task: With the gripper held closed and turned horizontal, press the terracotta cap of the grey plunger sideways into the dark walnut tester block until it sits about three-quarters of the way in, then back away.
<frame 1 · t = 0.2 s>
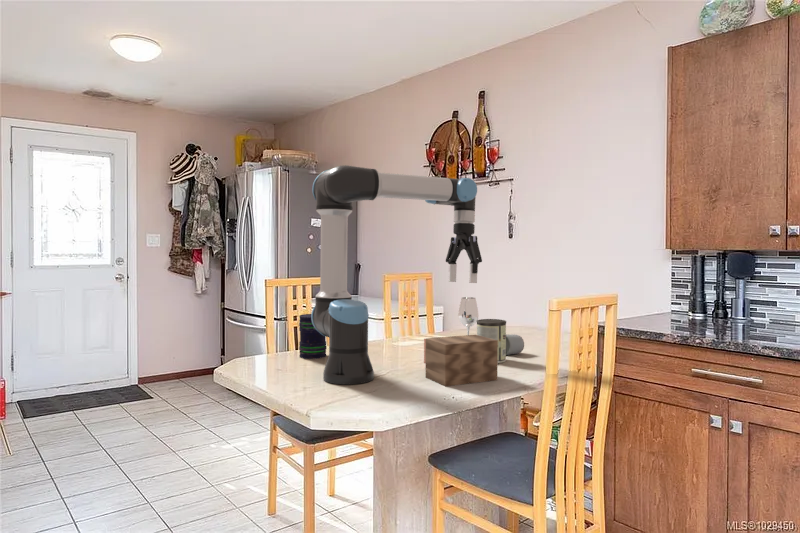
hand: (462, 282, 199), 27 cm above the table, tool pointing down, fingers open, 13 cm apart
coffee can: (491, 361, 195), on the table
ceramic mug: (507, 354, 208), on the table
wineglass: (468, 349, 218), on the table
storage jar: (312, 356, 202), on the table
tester block: (461, 378, 168), on the table
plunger: (444, 353, 177), point 6 cm above the table, slide at 0.0 cm
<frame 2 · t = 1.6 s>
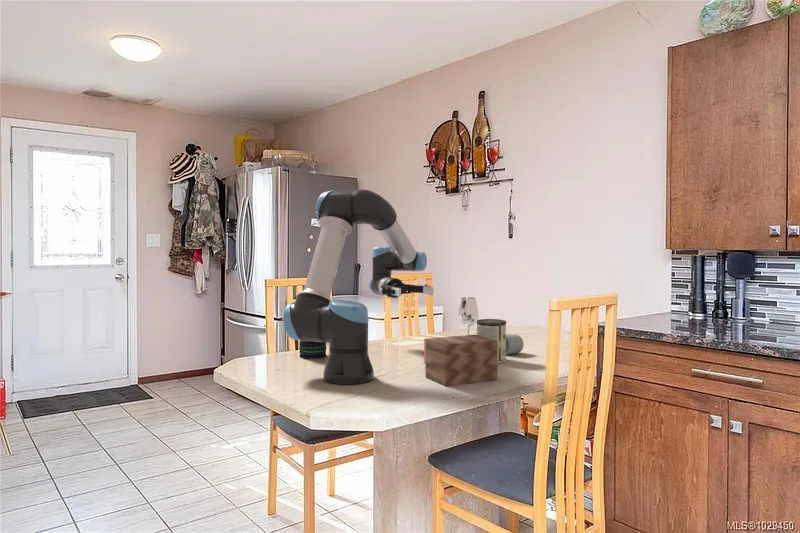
hand: (416, 291, 194), 24 cm above the table, tool horizontal, fingers open, 12 cm apart
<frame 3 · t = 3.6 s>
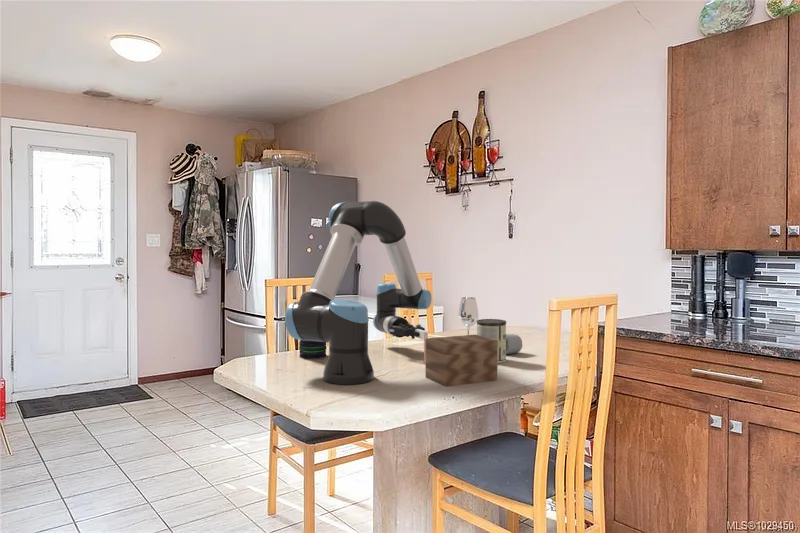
hand: (425, 335, 189), 10 cm above the table, tool horizontal, fingers closed
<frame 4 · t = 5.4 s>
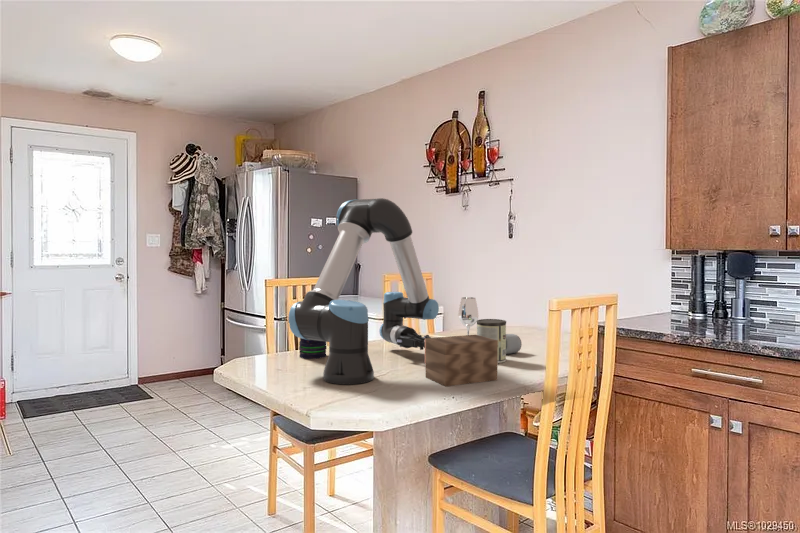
hand: (435, 346, 182), 7 cm above the table, tool horizontal, fingers closed
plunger: (445, 353, 176), point 6 cm above the table, slide at 0.4 cm, touching gripper
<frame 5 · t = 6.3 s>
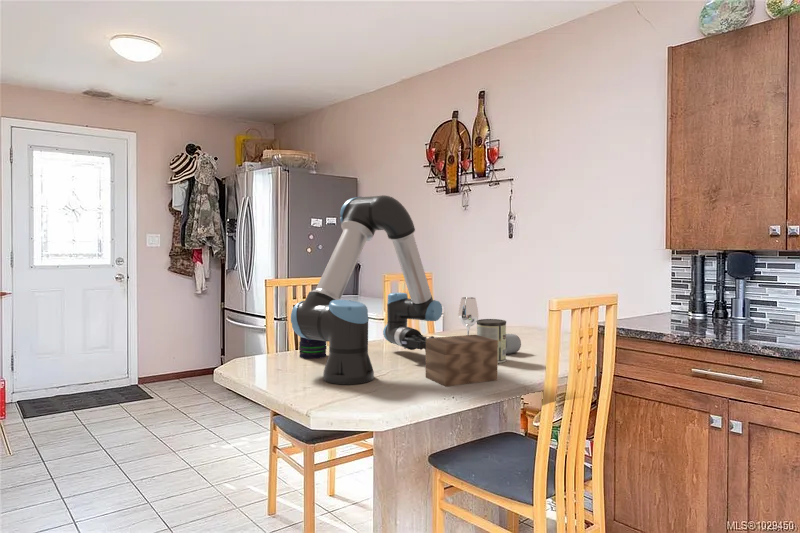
hand: (440, 348, 179), 7 cm above the table, tool horizontal, fingers closed
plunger: (451, 355, 173), point 6 cm above the table, slide at 4.0 cm, touching gripper
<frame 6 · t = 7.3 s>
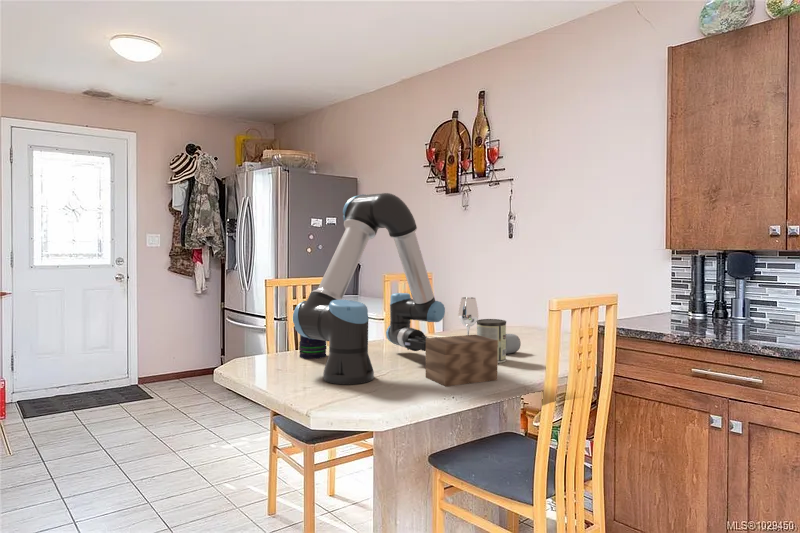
hand: (445, 350, 177), 7 cm above the table, tool horizontal, fingers closed
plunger: (455, 357, 170), point 6 cm above the table, slide at 6.8 cm, touching gripper
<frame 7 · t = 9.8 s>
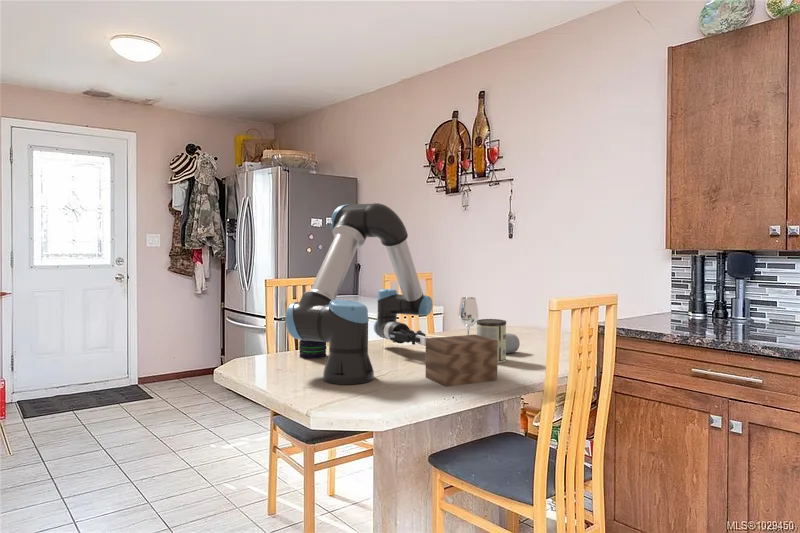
hand: (426, 341, 188), 8 cm above the table, tool horizontal, fingers closed
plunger: (455, 357, 170), point 6 cm above the table, slide at 6.8 cm
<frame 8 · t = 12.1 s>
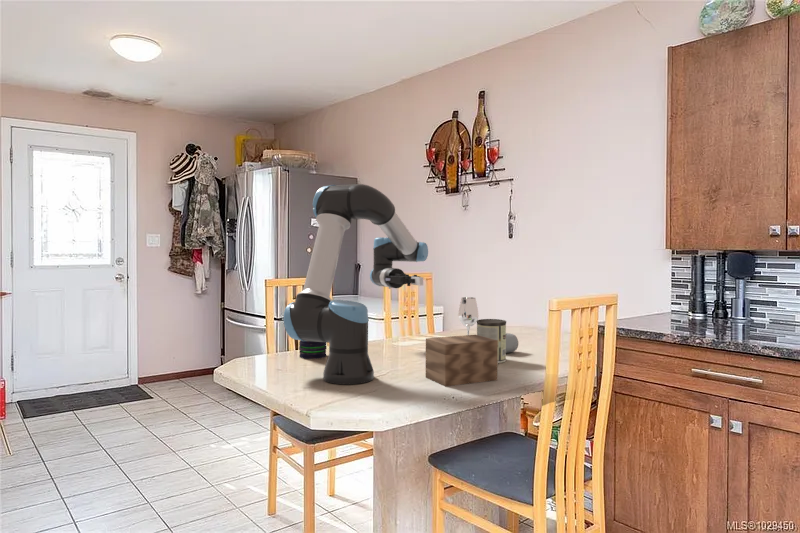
hand: (421, 281, 191), 28 cm above the table, tool horizontal, fingers closed
at the end: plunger slide at 6.8 cm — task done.
